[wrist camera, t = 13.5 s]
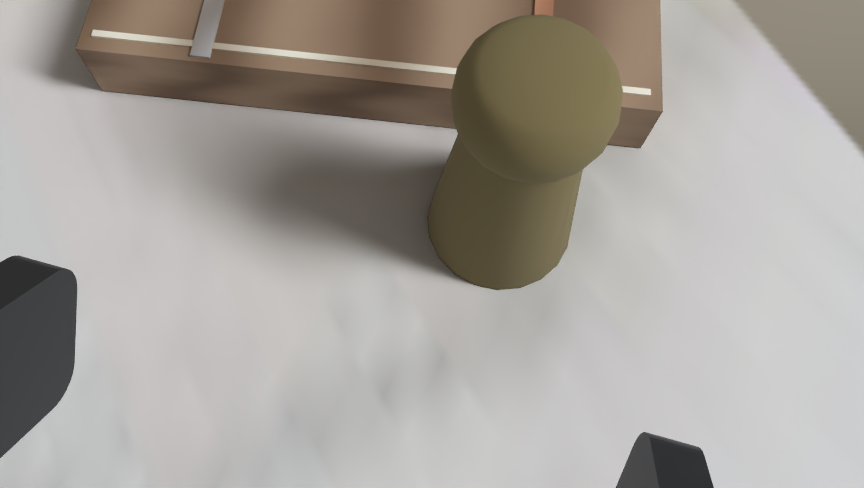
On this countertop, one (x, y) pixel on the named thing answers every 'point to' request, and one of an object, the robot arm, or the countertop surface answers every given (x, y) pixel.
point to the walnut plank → (347, 53)
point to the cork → (521, 148)
